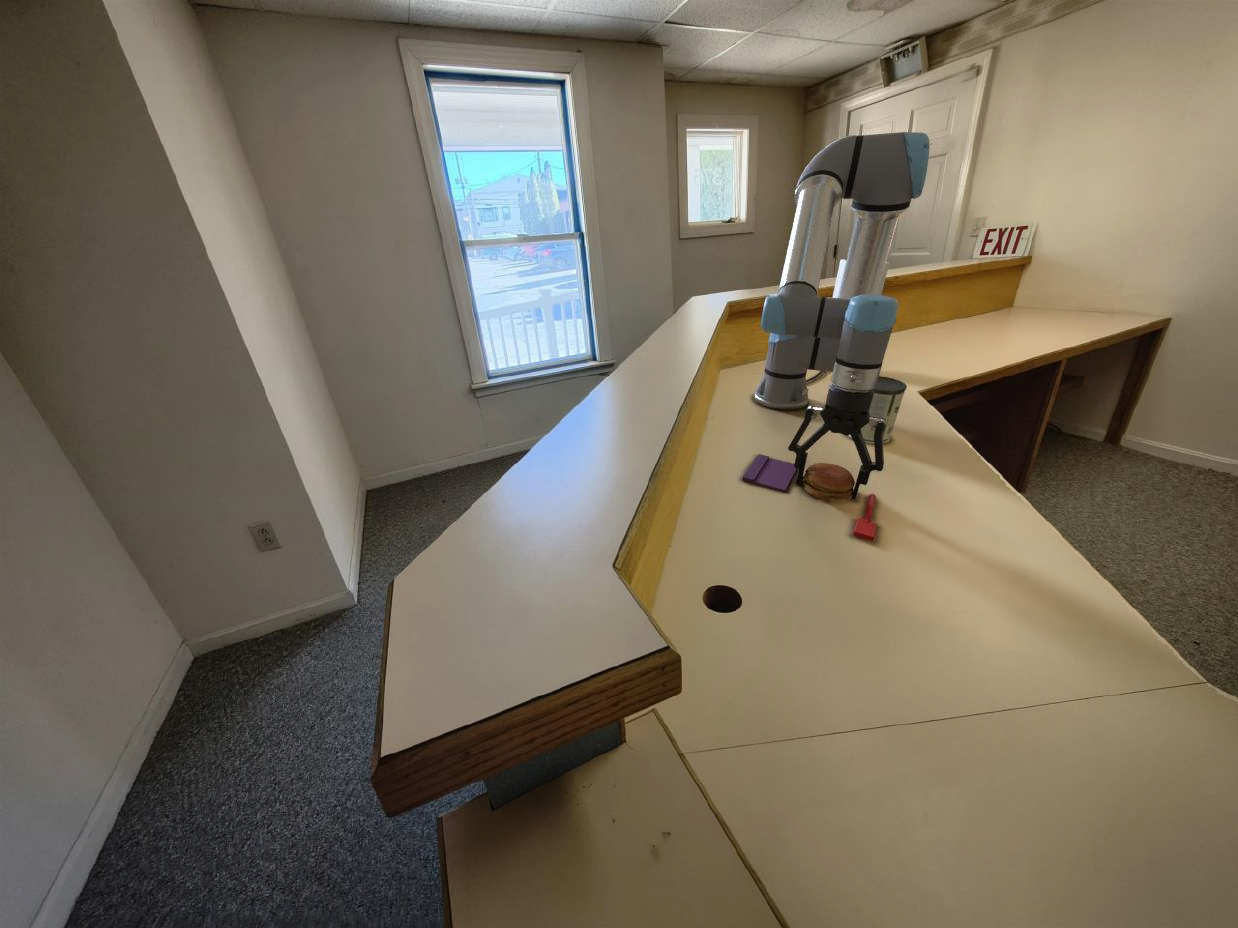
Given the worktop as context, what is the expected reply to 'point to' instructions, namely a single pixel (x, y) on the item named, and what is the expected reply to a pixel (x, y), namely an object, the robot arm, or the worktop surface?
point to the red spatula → (866, 522)
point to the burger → (828, 481)
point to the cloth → (770, 473)
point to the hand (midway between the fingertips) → (825, 488)
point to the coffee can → (884, 407)
